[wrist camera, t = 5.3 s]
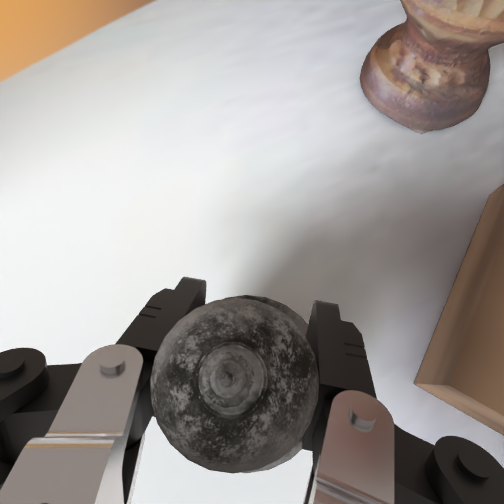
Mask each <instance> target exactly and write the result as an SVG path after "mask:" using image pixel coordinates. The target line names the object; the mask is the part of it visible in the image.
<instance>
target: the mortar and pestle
mask: <svg viewBox="0 0 504 504" xmlns="http://www.w3.org/2000/svg"><path fill="white" fill-rule="evenodd" d="M400 1H401V3H402V5H403V8H404V10H405V12H406V15H407V20H406V22H405V23H402V24H400V25H397V26H395V27H393V28H392V29H390V30H389V31H387V32H386V33H385V34H384V35H382V36H381V37H380V38H379V39H378V40H377V42H376V43H375V45H374V46H373V47H372V49H371V50H370V52H369V53H368V55H367V56H366V58H365V61H364V63H363V66H362V69H361V74H360V82H361V87H362V89H363V92H364V94H365V96H366V97H367V99H368V100H369V101H370V103H371V104H372V105H373V106H374V107H375V108H376V109H377V110H379V111H380V112H381V113H383V114H385V115H386V116H388V117H390V118H391V119H393V120H395V121H396V122H398V123H400V124H402V125H404V126H406V127H408V128H410V129H412V130H414V131H416V132H418V133H420V134H423V133H425V132H427V131H433V130H441V129H444V128H447V127H450V126H454V125H456V124H458V123H460V122H462V121H464V120H465V119H467V118H468V117H470V116H471V115H473V114H474V113H475V112H476V110H477V109H478V107H479V106H480V104H481V101H482V99H483V97H484V95H485V93H486V90H487V86H488V81H489V74H490V59H489V54H488V49H489V48H490V47H492V46H495V45H498V44H501V43H503V42H504V0H400Z"/></svg>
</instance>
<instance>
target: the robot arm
mask: <svg viewBox="0 0 504 504" xmlns="http://www.w3.org/2000/svg"><path fill="white" fill-rule="evenodd" d="M205 298H206V281H205V280H200V279H194V278H189V277H183V278H182V279H181V281H180V282H179V284H178V285H177V287H176V288H175V289H174V290H172V289H166V288H165V289H163V290H162V291H160V292H158V293H156V294H155V295H153V296H152V297H151V298H150V300H149V301H148V302H147V304H146V305H145V307H144V308H143V309H142V310H141V311H140V313H139V315H137V317H136V318H135V319H134V321H133V322H132V323H131V324H130V326H129V327H128V328H127V330H126V331H125V332H124V333H123V335H122V336H121V337H120V339H119V340H118V341H117V343H116V344H115V345H109V346H105V347H102V348H99V349H97V350H95V351H94V352H92V353H91V354H90V355H88V356H87V357H86V359H85V360H84V361H83V363H79V364H65V365H47V364H46V359H45V356H44V354H43V353H42V352H40V351H38V350H36V349H33V348H16V349H10V350H7V351H4V352H1V353H0V504H131V501H132V496H133V491H134V487H135V482H136V477H137V473H138V468H139V463H140V459H141V454H142V449H143V445H144V440H145V430H146V428H147V426H148V424H149V422H150V420H151V417H152V416H154V417H156V416H155V413H154V409H153V406H152V403H151V381H150V378H151V374H152V369H153V365H154V360H155V356H156V354H157V352H158V350H159V348H160V346H161V344H162V342H163V340H164V338H165V336H166V335H167V334H168V333H169V332H170V330H171V329H172V328H173V327H174V326H175V325H176V323H177V322H178V321H179V320H180V319H182V318H183V317H184V316H186V315H187V314H189V313H190V312H191V311H193V310H194V309H196V308H198V307H200V306H203V305H205ZM306 338H307V340H308V342H309V344H310V347H311V349H312V351H313V353H314V355H315V359H316V364H317V369H318V374H319V389H318V402H317V405H316V408H315V411H314V414H313V417H312V420H311V423H310V425H309V426H308V428H307V429H306V431H305V433H304V434H303V436H302V449H305V450H310V451H313V466H312V469H311V472H310V475H309V479H308V484H307V488H306V492H305V497H304V501H303V504H504V468H503V467H502V466H501V465H500V464H499V463H498V462H497V460H496V459H495V458H494V457H493V456H492V455H490V454H489V453H488V452H487V451H486V450H484V449H483V448H482V447H480V446H478V445H477V444H475V443H473V442H471V441H469V440H467V439H464V438H461V437H457V436H445V437H442V438H440V439H439V440H438V441H437V442H436V444H435V446H434V445H432V444H430V443H428V442H426V441H424V440H422V439H420V438H418V437H416V436H414V435H411V434H409V433H408V432H406V431H404V430H402V429H401V428H399V427H398V426H397V425H395V424H394V422H393V418H392V416H391V414H390V413H389V411H388V410H387V408H386V407H385V406H384V405H383V404H382V403H381V402H380V401H378V400H377V398H376V393H375V389H374V385H373V381H372V377H371V372H370V368H369V364H368V360H367V355H366V351H365V349H364V343H363V338H362V334H361V333H360V332H359V331H358V329H357V328H356V327H355V325H354V324H353V323H351V322H345V321H341V319H340V313H339V307H338V304H333V303H327V302H321V301H316V300H315V301H314V304H313V308H312V312H311V316H310V320H309V325H308V329H307V333H306Z"/></svg>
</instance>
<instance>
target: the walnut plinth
mask: <svg viewBox="0 0 504 504" xmlns="http://www.w3.org/2000/svg"><path fill="white" fill-rule="evenodd" d="M414 384H415V385H417V386H419V387H420V388H422V389H424V390H426V391H427V392H429V393H431V394H433V395H434V396H436V397H438V398H439V399H441V400H443V401H445V402H446V403H448V404H450V405H452V406H453V407H455V408H457V409H459V410H460V411H462V412H464V413H466V414H467V415H469V416H471V417H472V418H474V419H476V420H478V421H479V422H481V423H483V424H485V425H486V426H488V427H490V428H492V429H493V430H495V431H497V432H499V433H500V434H502V435H504V185H502V186H501V187H500V188H498V189H497V190H496V191H495V192H493V193H492V194H491V195H489V198H488V200H487V203H486V205H485V208H484V210H483V213H482V215H481V218H480V220H479V223H478V225H477V228H476V230H475V233H474V235H473V237H472V240H471V242H470V245H469V247H468V250H467V252H466V255H465V257H464V260H463V262H462V265H461V267H460V270H459V272H458V275H457V277H456V280H455V282H454V285H453V287H452V290H451V292H450V295H449V297H448V300H447V302H446V304H445V307H444V309H443V312H442V314H441V317H440V319H439V322H438V324H437V327H436V329H435V332H434V334H433V337H432V339H431V342H430V344H429V347H428V349H427V352H426V354H425V357H424V359H423V362H422V364H421V367H420V369H419V371H418V374H417V376H416V379H415V381H414Z"/></svg>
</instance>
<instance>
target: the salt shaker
mask: <svg viewBox="0 0 504 504" xmlns="http://www.w3.org/2000/svg"><path fill="white" fill-rule="evenodd" d="M307 329H308V324H307V323H306V322H305V321H304V320H303V318H302V317H301V316H299V315H298V314H296V313H295V312H294V311H292V310H291V309H290V308H288V307H287V306H286V305H284V304H281V303H279V302H276V301H274V300H271V299H268V298H266V297H257V296H249V295H244V296H236V297H229V298H225V299H222V300H216V301H213V302H210V303H208V304H205V305H203V306H200V307H198V308H196V309H194V310H193V311H191V312H190V313H189V314H187V315H186V316H184V317H183V318H182V319H180V320H179V321H178V322H177V323H176V325H175V326H174V327H173V328H172V329H171V330H170V332H169V333H168V334H167V335H166V336H165V338H164V340H163V342H162V344H161V346H160V348H159V350H158V352H157V354H156V356H155V360H154V365H153V369H152V374H151V378H150V381H151V403H152V406H153V409H154V413H155V416H156V419H157V423H158V425H159V427H160V428H161V430H162V431H163V433H164V435H165V436H166V438H167V439H168V441H169V443H170V444H171V445H172V446H173V447H174V448H175V449H177V450H178V451H179V452H180V453H181V454H182V455H183V456H184V457H185V458H187V459H188V460H190V461H192V462H194V463H196V464H198V465H200V466H202V467H204V468H206V469H209V470H213V471H220V472H227V473H239V472H241V473H251V472H257V471H263V470H270V469H272V468H274V467H276V466H278V465H280V464H282V463H284V462H286V461H288V460H290V459H292V458H293V457H294V456H295V455H296V454H297V453H298V452H299V451H300V450H301V449H302V436H303V434H304V433H305V431H306V429H307V428H308V426H309V425H310V423H311V420H312V417H313V414H314V411H315V408H316V405H317V402H318V389H319V374H318V369H317V364H316V359H315V355H314V353H313V351H312V349H311V347H310V344H309V342H308V340H307V338H306V333H307Z"/></svg>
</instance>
